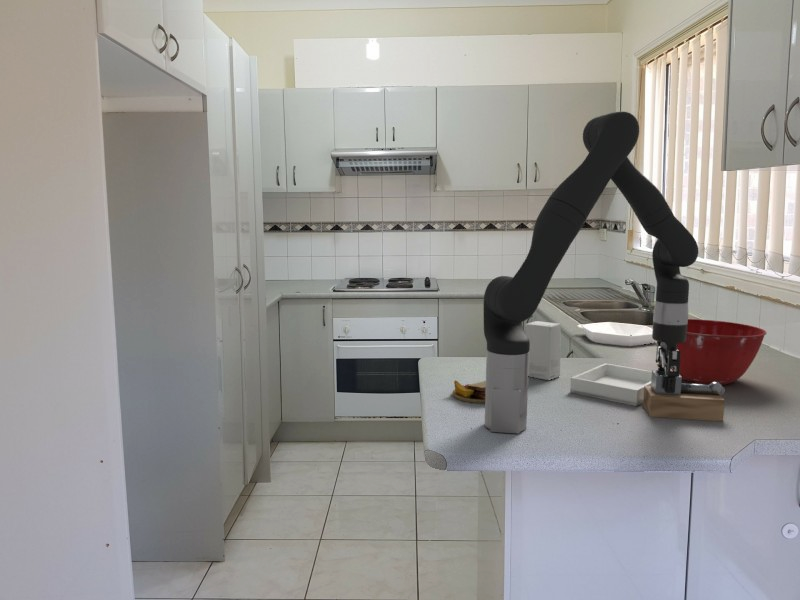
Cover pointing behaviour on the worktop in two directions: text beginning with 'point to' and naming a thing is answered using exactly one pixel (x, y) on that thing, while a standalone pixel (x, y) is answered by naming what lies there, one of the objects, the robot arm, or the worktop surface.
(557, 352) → the skincare box
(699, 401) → the stud block
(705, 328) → the mixing bowl
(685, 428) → the worktop surface
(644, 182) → the robot arm
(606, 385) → the bin
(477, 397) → the toy sandwich meal
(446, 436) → the worktop surface
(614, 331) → the white serving platter
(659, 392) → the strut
